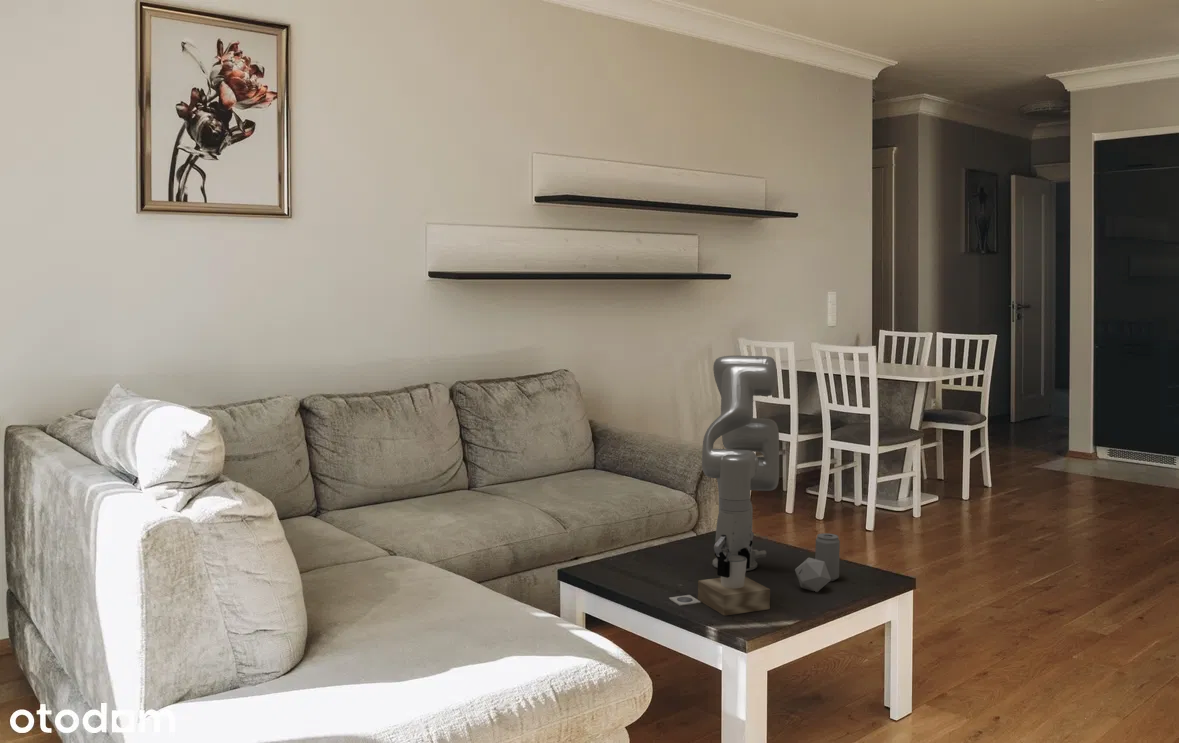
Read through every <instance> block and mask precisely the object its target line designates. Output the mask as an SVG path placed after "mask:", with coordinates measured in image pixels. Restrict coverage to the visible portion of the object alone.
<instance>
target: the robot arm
mask: <svg viewBox="0 0 1179 743" xmlns="http://www.w3.org/2000/svg"><path fill="white" fill-rule="evenodd" d="M712 370H713V377H714V381H715V385H716V387H717V390H718V392H719V394H720V398H721V399H720V415H719V416H718V417H717V418H716V419H714V420H713V421H712V422H711V424H710V425H709V426H708V427H707V430H706V431H705V433H704V436H703V440H702V450H701V451H702V452H701V468H702V472H703V474H704V476H706V477H707V478H710V479H716V482H717V489H718V490H717V491H718V514H717V519H716V520H717V521H716V529H715V540H714V542H715V543H714V546H713V550H714V556H715V558H714V559H713V560H712V566H713V567H714V568H716V569H717V572H716V574H717V576H718V577H721V576H722V577H726V578H728V577H730V562H729V561H728V560H729V557H730V555H740V556H744V557H746V558H747V563H746V572H750V571H753V570H755V569H756V568H757V567H758V562H757V561H756V560H758V558H761V559H762V558H766V557H767V555H768V553H767V551H766V549H764V550H758V549H753V538H754V532H753V513H754V512H753V511H754V509H753V503H752V502H751V491H759V492H760V491H763V492H767V491H768V492H771V491H773V490H776V489H777V487H778V485H779V482H780V481H779V480H780V433H779V427H778V424H777V422H776V421H775V420H774V419H770V418H765V417H764V418H763V417H762V418H758V417H757V418H756V417H754V396H756V397H770V396H773V395H774V394H775V392H776V390H777V384H778V373H777V371H778V370H777V365H776V361H775V359H774V358H773V357H772V356H767V355H763V356H762V355H722V356H719V357H718V358H716V359H715V360H714V362H713V368H712ZM721 436H722V437H721ZM720 437H721V439H722V445H723V447H724V448H714V444H715V442H716V441H717V440H718V439H719V438H720ZM757 452H758V453H761V454H762V455H763V456H757V455H756V453H757Z"/></svg>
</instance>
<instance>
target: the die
mask: <svg viewBox="0 0 1179 743" xmlns="http://www.w3.org/2000/svg"><path fill="white" fill-rule="evenodd" d="M794 571H795V574H796V578H797V579H798V582H799V586H800V588H801V589H804V590H807V591H812V592H814V591H815V593H818V592H819V591H820V590H821V589H823V587H825V586H826V585H827V584H828V583H829V582H831V581H830V580H831V578H830V576H829V573H828V570H827V567H826V564H825V562H824V561H820V560H817V559H815V558H812V557H807V558H806V559H805V560H804V561H803V562H802V563H800V565H798V566H797V567H795V569H794Z"/></svg>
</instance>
